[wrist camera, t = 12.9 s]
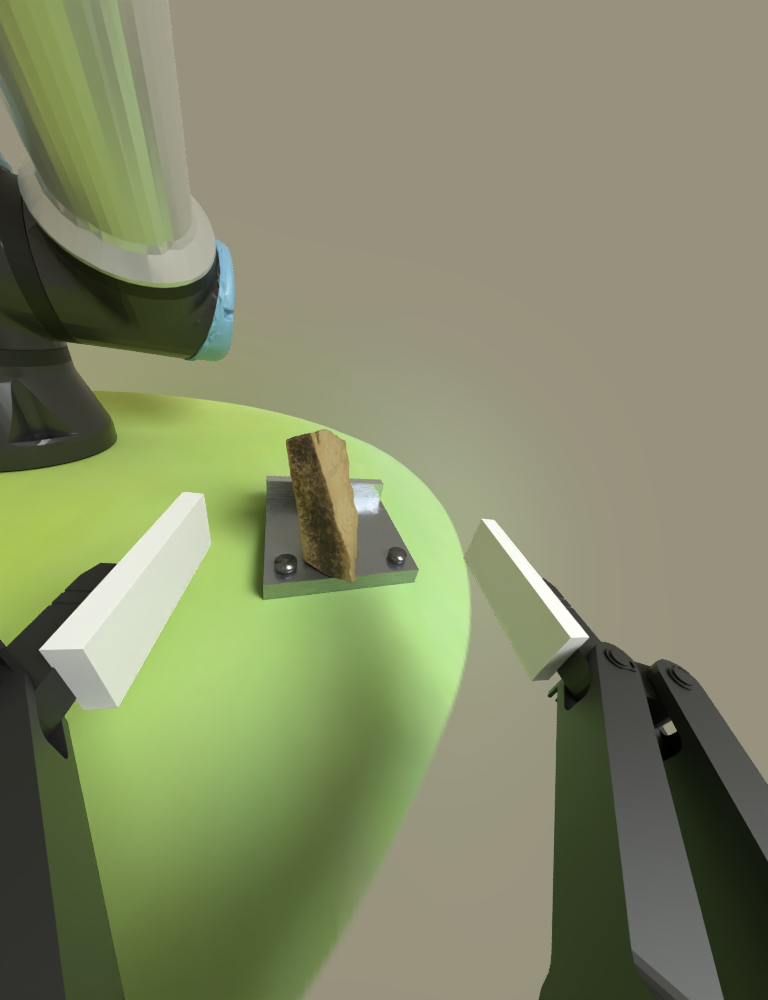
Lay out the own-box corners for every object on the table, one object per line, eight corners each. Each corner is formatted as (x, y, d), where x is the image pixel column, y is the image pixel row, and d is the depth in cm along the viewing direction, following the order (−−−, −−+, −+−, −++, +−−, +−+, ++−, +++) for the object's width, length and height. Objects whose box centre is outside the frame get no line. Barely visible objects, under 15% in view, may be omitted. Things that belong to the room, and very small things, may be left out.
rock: (306, 467, 30) (229, 491, 21) (364, 417, 26) (300, 420, 17) (364, 548, 30) (314, 606, 21) (428, 511, 27) (400, 562, 18)
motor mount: (267, 505, 29) (266, 475, 27) (374, 505, 33) (380, 479, 32) (263, 599, 20) (262, 563, 18) (414, 581, 24) (425, 551, 22)
